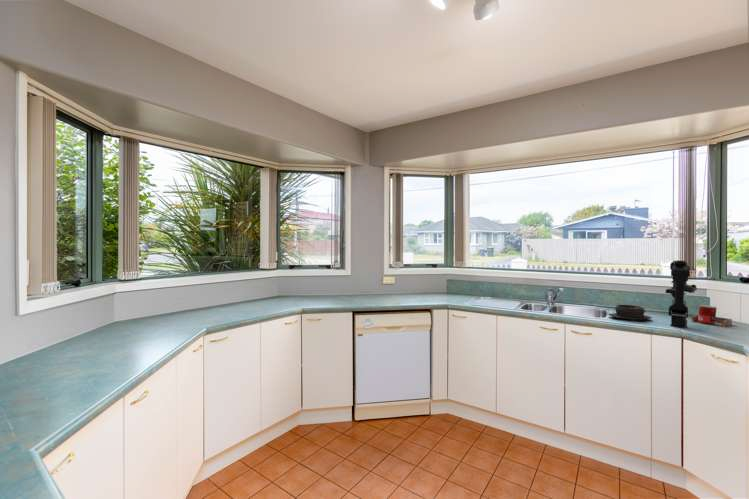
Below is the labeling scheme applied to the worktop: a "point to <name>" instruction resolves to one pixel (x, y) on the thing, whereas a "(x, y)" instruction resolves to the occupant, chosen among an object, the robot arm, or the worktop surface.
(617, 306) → the casserole
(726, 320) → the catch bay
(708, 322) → the canned food
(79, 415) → the worktop surface
